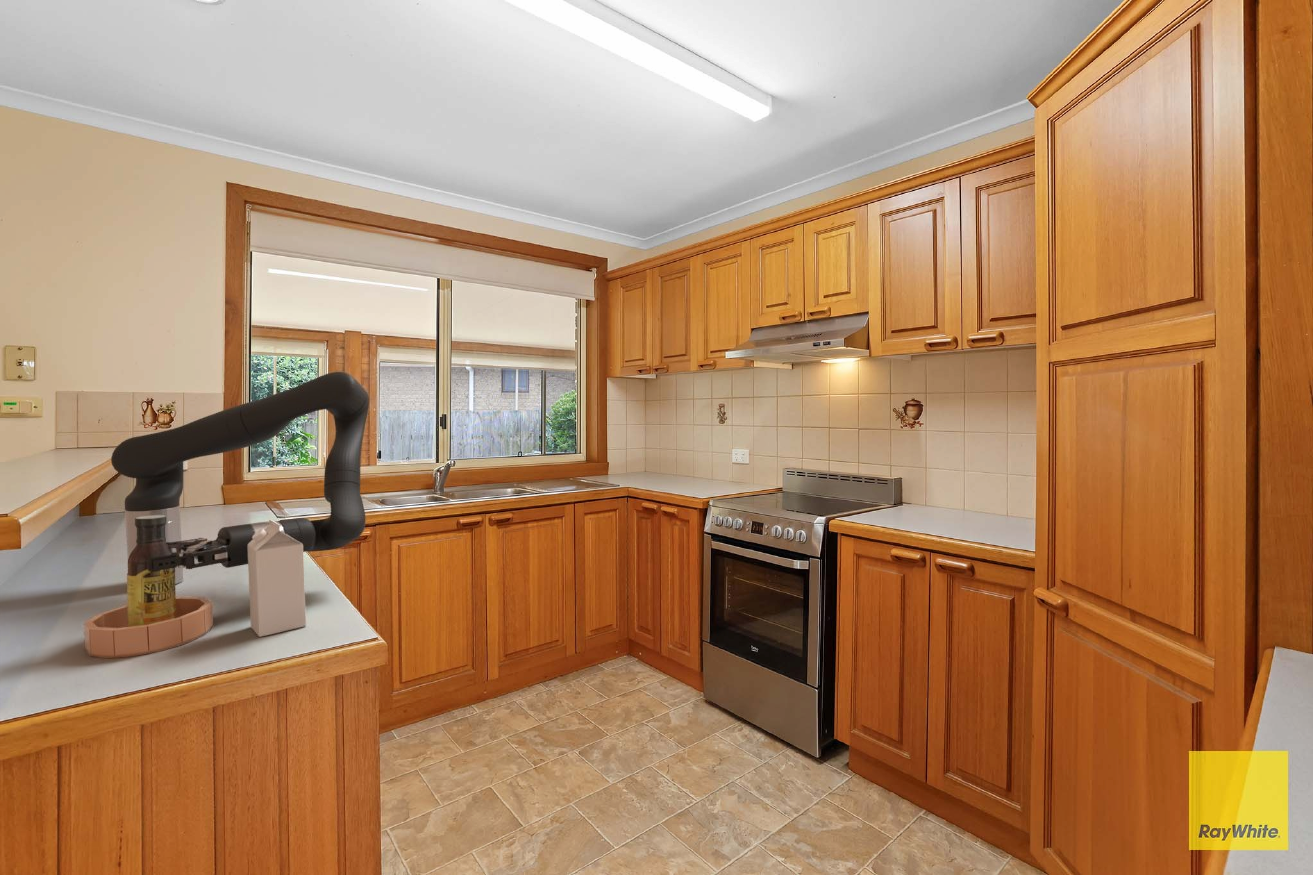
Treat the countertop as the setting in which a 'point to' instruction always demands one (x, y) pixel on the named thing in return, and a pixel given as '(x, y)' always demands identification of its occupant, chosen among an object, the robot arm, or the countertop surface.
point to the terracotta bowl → (147, 630)
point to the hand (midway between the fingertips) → (141, 561)
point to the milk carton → (276, 581)
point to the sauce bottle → (150, 576)
